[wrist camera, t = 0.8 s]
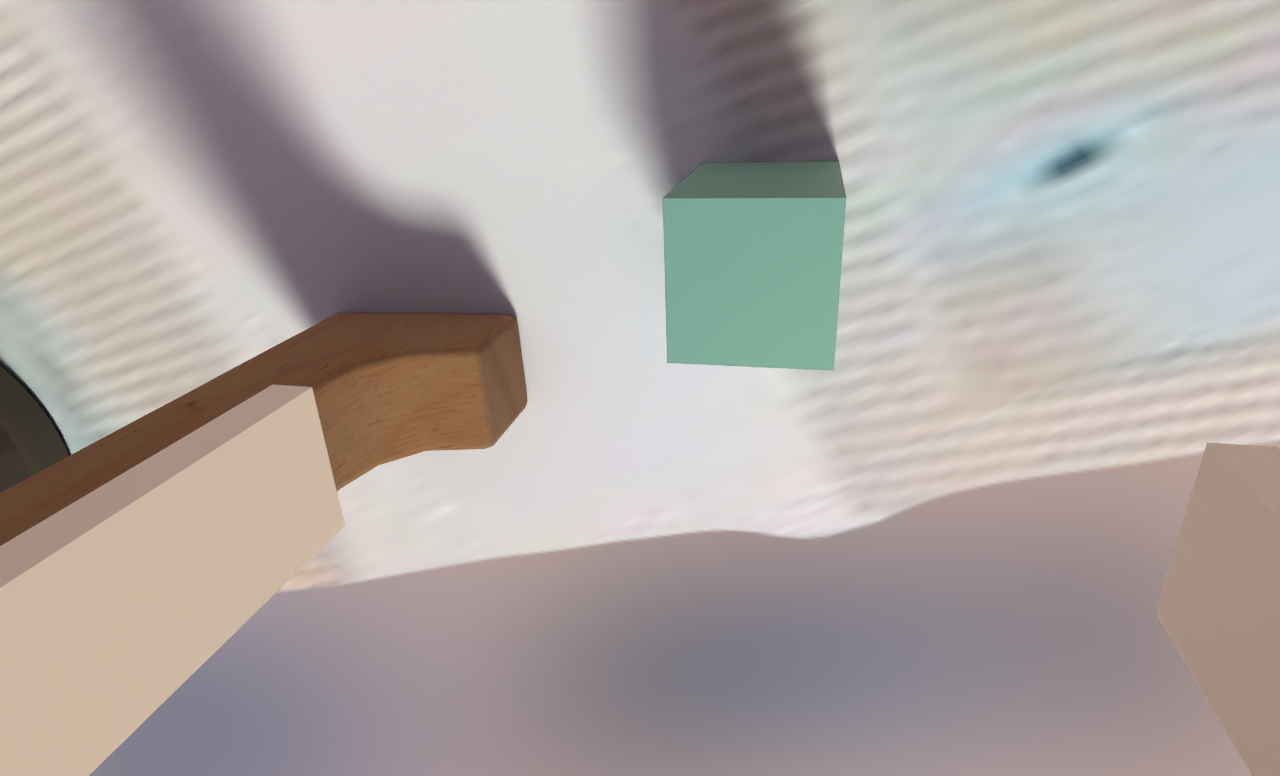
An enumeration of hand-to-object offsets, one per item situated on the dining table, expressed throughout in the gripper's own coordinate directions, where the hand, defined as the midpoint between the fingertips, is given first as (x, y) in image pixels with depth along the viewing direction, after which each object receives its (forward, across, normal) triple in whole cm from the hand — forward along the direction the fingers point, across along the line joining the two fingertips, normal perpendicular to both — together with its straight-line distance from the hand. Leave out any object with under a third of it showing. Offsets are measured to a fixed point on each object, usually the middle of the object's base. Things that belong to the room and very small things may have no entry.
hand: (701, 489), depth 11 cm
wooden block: (+19, -15, -6) cm, 25 cm away
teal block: (+19, 0, 0) cm, 19 cm away
